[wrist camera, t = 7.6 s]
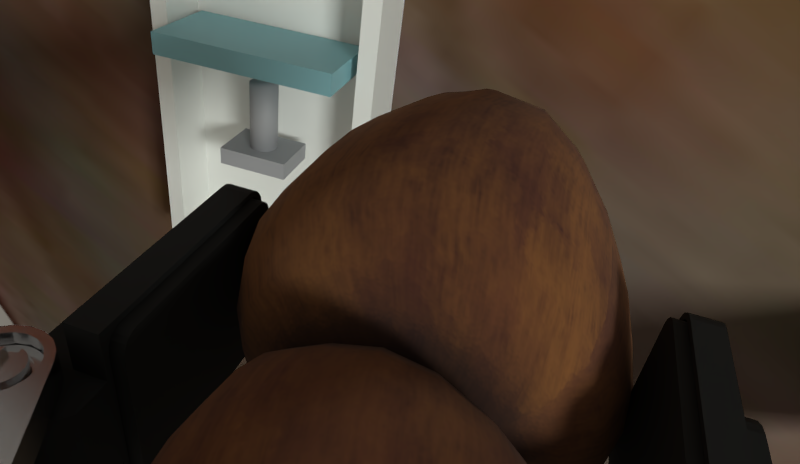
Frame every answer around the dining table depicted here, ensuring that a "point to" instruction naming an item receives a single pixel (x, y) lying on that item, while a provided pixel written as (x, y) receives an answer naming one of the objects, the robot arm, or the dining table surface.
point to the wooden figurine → (428, 303)
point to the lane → (297, 110)
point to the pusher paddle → (260, 77)
